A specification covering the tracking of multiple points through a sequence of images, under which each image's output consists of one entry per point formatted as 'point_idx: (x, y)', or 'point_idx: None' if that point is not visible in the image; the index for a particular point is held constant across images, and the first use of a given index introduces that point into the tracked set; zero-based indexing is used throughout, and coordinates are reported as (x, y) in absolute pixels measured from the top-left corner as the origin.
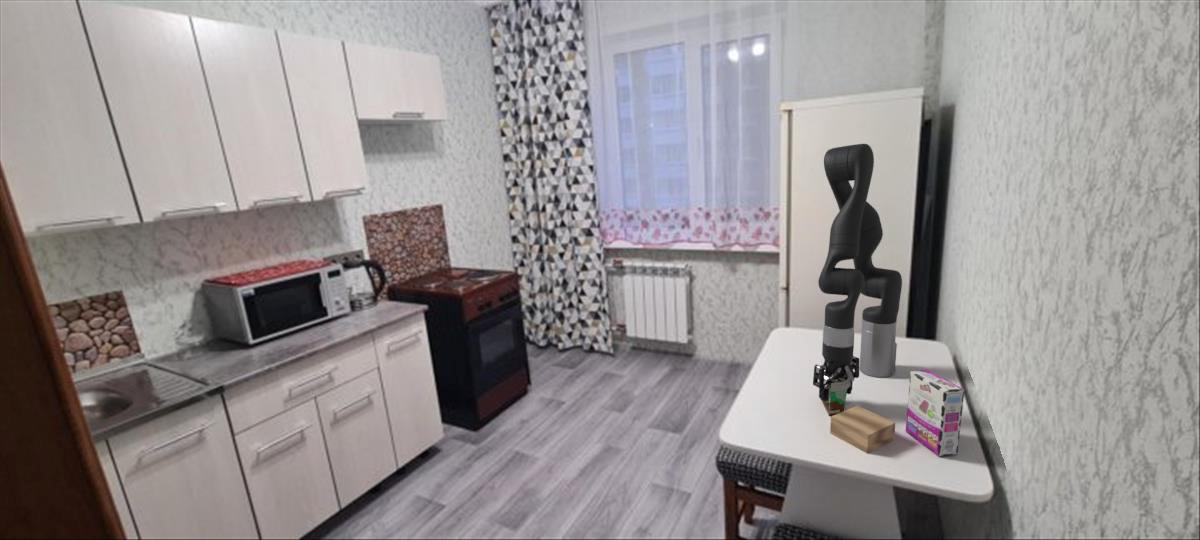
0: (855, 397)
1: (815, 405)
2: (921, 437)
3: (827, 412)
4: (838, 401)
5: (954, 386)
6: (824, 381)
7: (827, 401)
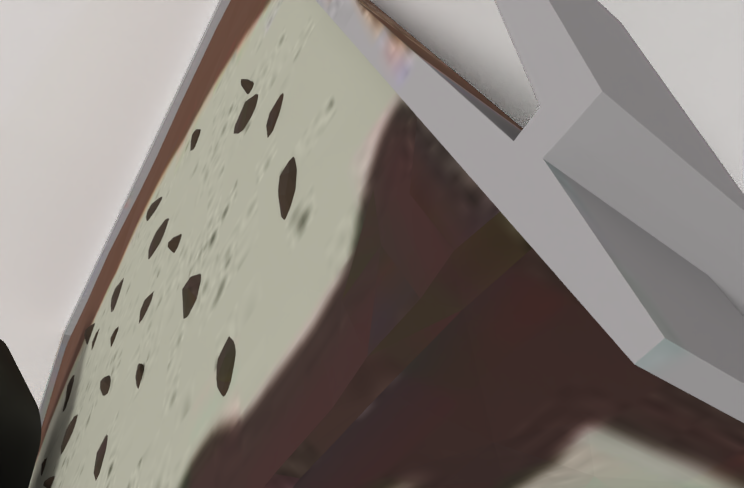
0: (720, 110)
1: (34, 63)
2: None
3: (83, 292)
4: None
5: None
6: (123, 440)
7: (69, 379)
